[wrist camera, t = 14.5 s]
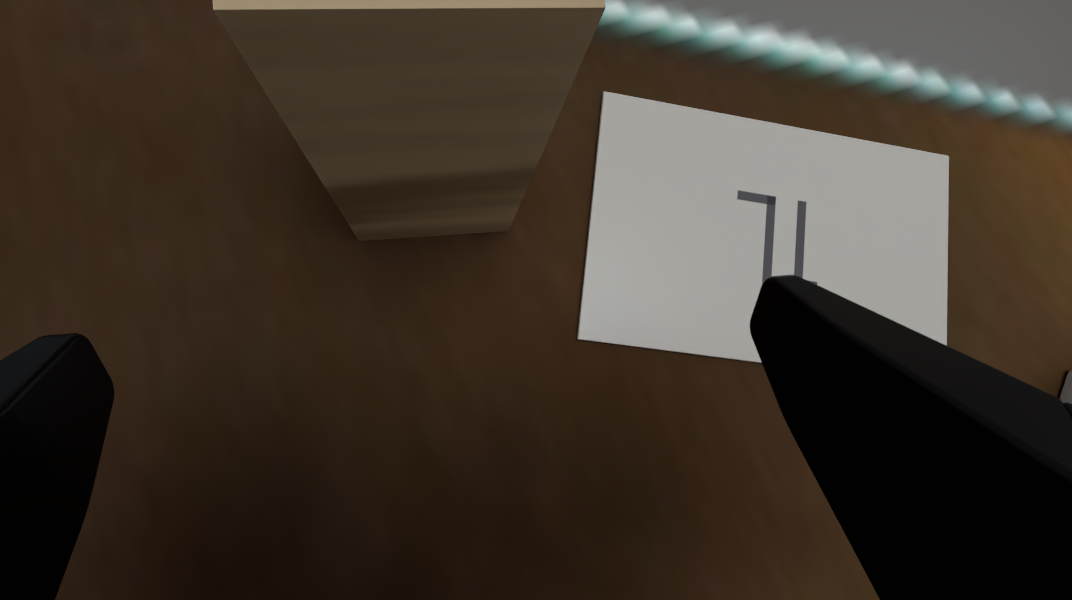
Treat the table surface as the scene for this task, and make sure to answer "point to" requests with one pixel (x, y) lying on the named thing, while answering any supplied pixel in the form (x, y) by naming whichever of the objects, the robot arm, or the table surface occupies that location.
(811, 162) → the tile
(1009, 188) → the table surface
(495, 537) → the table surface
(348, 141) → the oak block
